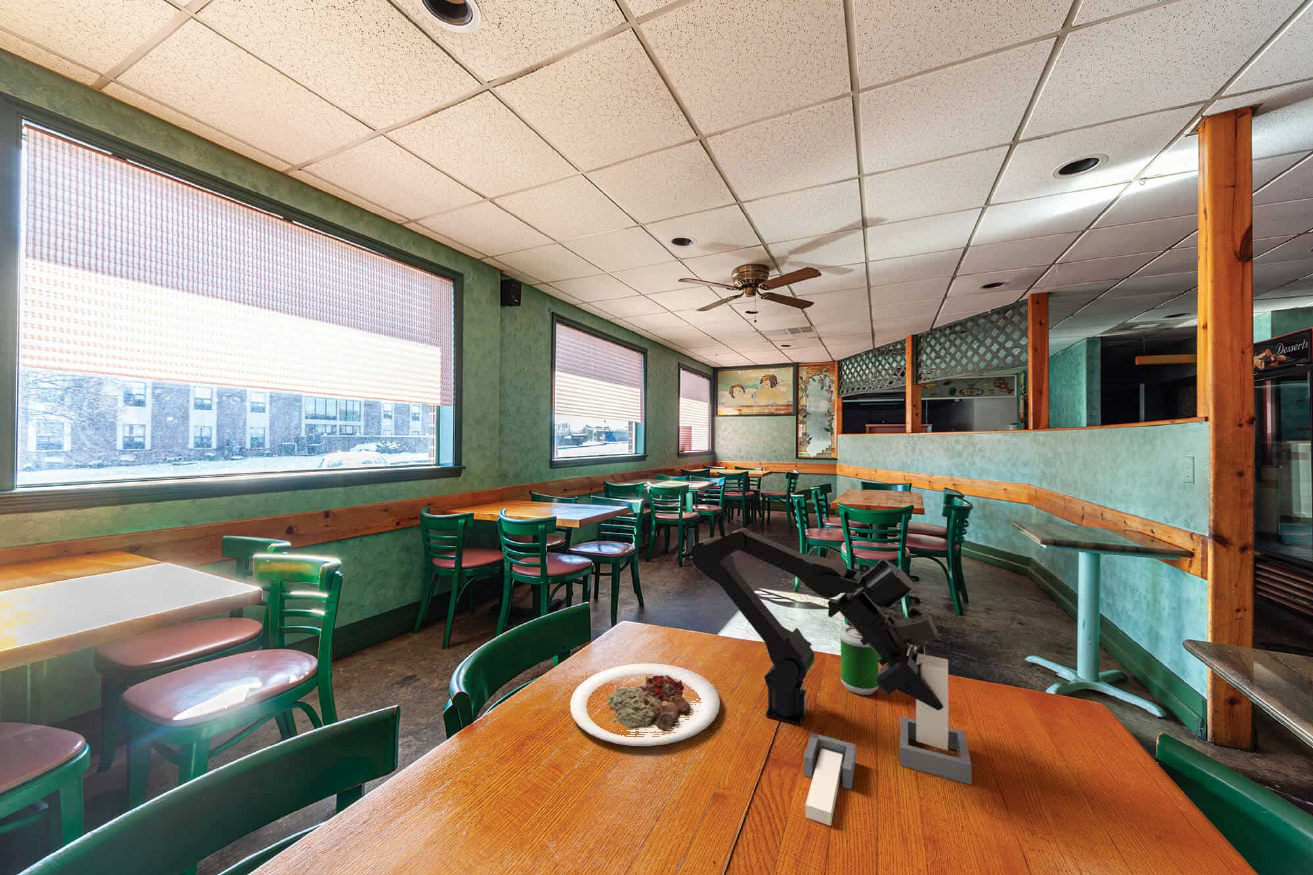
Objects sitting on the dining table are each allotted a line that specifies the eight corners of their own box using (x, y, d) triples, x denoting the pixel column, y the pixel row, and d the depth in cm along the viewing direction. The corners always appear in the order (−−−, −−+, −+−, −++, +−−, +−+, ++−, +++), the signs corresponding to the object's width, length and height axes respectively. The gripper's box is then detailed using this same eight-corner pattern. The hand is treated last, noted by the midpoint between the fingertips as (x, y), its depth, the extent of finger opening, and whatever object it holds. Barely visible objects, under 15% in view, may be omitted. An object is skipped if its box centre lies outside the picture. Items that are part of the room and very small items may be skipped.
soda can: (882, 698, 100) (882, 640, 100) (844, 694, 101) (843, 637, 101) (874, 680, 107) (873, 626, 107) (838, 677, 108) (837, 624, 109)
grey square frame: (899, 765, 79) (899, 746, 79) (900, 732, 88) (900, 716, 88) (971, 784, 74) (971, 765, 74) (964, 748, 83) (964, 731, 83)
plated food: (548, 748, 84) (548, 729, 84) (591, 668, 114) (591, 654, 114) (721, 760, 81) (720, 740, 81) (719, 674, 111) (718, 660, 111)
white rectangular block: (916, 741, 81) (915, 663, 81) (918, 727, 84) (917, 653, 84) (947, 750, 78) (947, 670, 78) (948, 736, 82) (947, 659, 82)
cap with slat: (792, 812, 69) (792, 791, 69) (811, 750, 83) (811, 732, 83) (844, 830, 66) (844, 808, 66) (855, 762, 80) (855, 744, 80)
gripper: (899, 612, 76) (984, 703, 70) (910, 582, 91) (980, 654, 85) (846, 650, 80) (923, 739, 74) (865, 616, 96) (929, 687, 90)
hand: (941, 701), depth 81 cm, fingers closed on white rectangular block, 4 cm apart
